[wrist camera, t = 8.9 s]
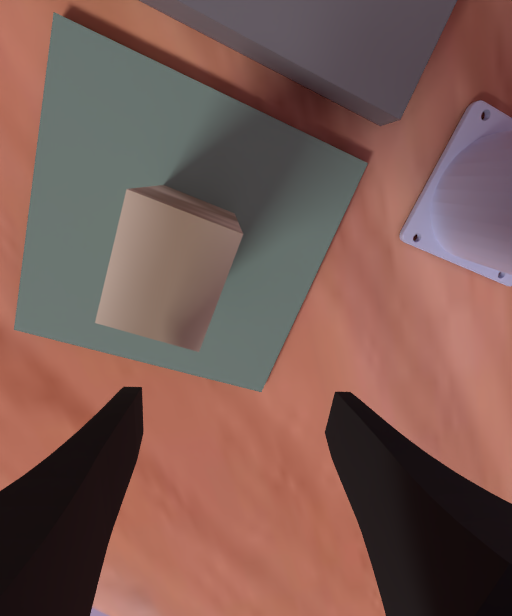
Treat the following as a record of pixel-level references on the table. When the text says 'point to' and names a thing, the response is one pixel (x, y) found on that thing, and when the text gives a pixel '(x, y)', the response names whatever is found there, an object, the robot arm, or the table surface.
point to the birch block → (168, 266)
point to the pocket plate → (329, 43)
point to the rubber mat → (182, 177)
